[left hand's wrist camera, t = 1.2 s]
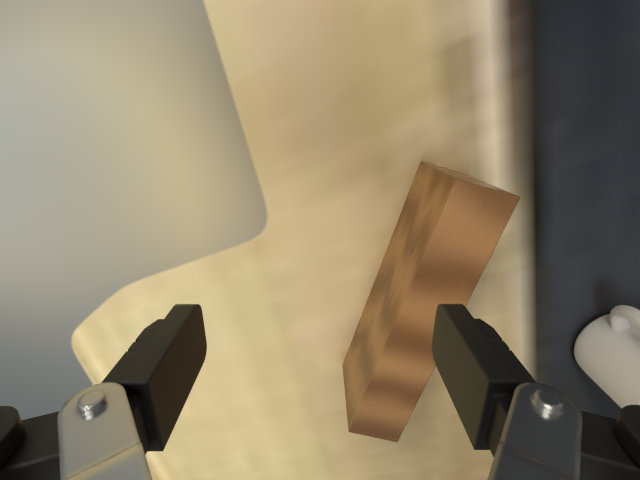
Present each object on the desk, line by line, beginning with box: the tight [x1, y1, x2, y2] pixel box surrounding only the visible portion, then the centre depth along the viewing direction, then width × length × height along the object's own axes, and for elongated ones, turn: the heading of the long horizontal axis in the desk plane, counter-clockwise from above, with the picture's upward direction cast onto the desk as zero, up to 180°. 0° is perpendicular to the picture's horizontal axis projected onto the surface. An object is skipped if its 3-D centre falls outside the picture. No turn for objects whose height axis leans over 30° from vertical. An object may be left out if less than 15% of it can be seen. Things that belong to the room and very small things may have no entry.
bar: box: [343, 161, 520, 442], centre depth 31 cm, size 24×5×9 cm, turn 164°
